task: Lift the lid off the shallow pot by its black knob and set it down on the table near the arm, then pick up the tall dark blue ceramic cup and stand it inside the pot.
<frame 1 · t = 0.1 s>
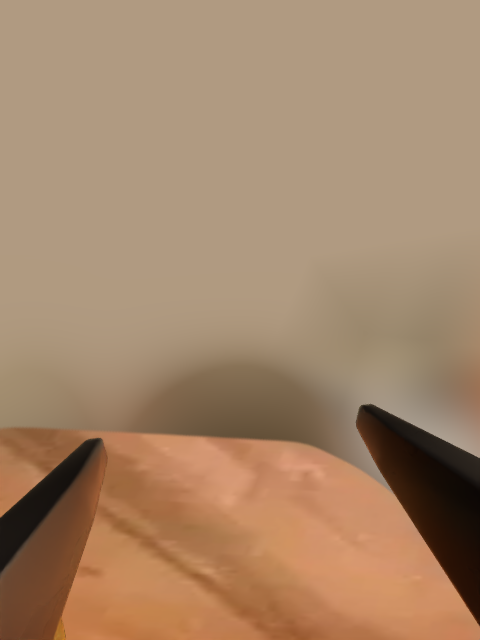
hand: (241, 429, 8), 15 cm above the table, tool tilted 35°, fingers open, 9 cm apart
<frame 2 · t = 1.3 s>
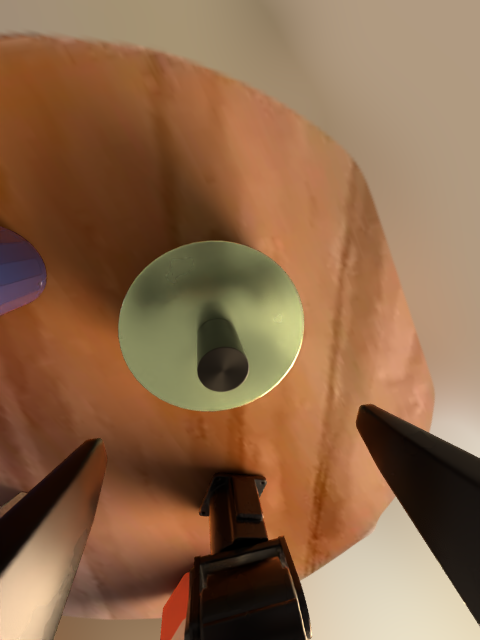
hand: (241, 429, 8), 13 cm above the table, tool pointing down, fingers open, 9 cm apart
cup: (0, 267, 17), on the table
french fries container: (208, 572, 34), on the table
lid: (216, 333, 16), point 4 cm above the table, touching pot
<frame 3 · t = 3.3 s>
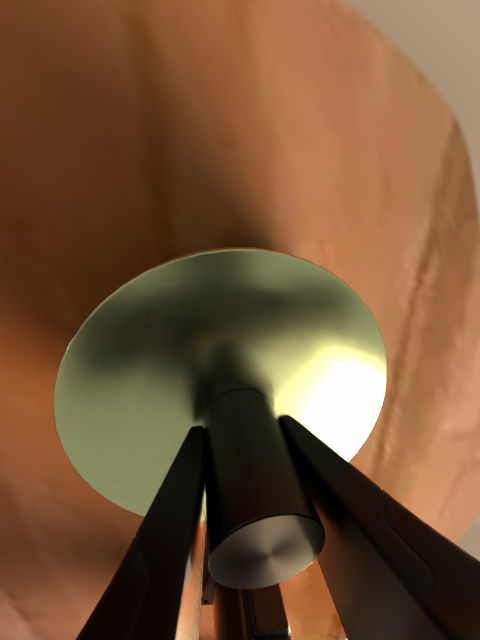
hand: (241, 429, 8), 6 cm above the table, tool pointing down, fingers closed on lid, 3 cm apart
lid: (236, 407, 9), point 4 cm above the table, touching gripper, pot
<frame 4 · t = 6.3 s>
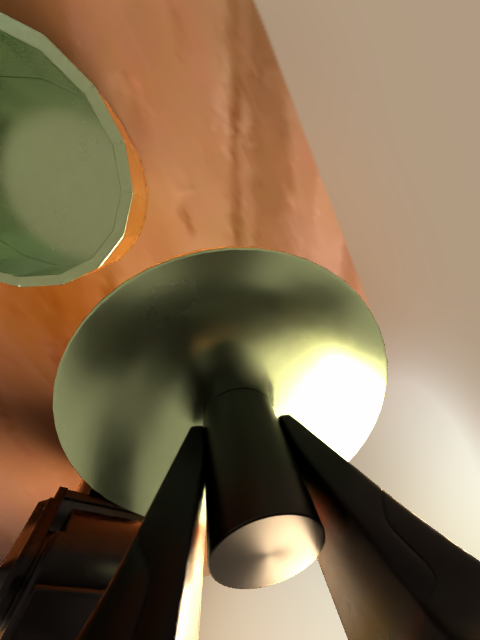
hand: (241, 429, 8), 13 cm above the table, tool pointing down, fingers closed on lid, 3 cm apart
pot: (55, 184, 15), on the table
lid: (236, 406, 9), point 12 cm above the table, touching gripper
when the fingers open (2 cm above the table, at t = 9.2 s): lid stays where it is, point 1 cm above the table.
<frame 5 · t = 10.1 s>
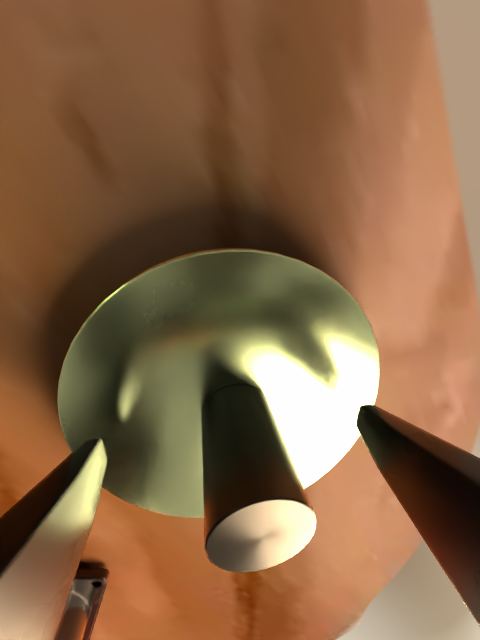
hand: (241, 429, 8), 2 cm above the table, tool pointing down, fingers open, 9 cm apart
lid: (233, 402, 10), point 1 cm above the table
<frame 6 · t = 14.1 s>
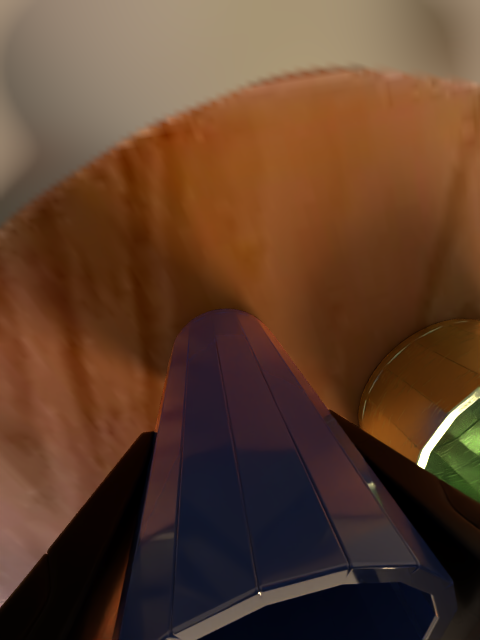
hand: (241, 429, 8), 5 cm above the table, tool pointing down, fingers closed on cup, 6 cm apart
cup: (224, 357, 13), on the table, touching gripper
pot: (432, 393, 17), on the table
when the fingers open (5 cm above the table, at t = 18.7 s): cup stays where it is, resting on pot.
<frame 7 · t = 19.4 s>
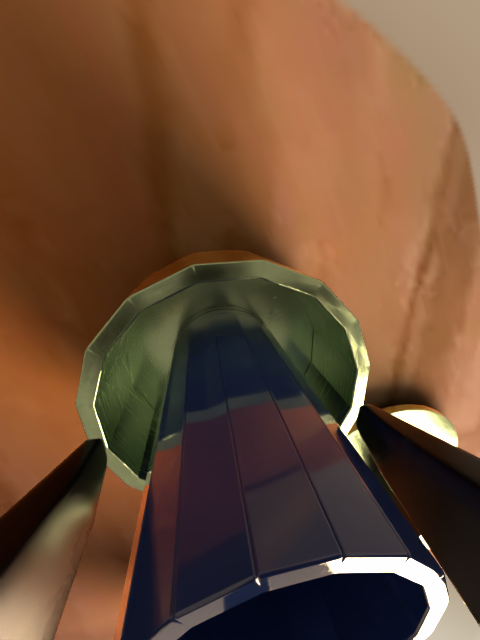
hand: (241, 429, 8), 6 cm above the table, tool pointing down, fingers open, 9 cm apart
cup: (225, 357, 13), resting on pot
pot: (224, 352, 14), on the table
lid: (381, 466, 19), point 1 cm above the table
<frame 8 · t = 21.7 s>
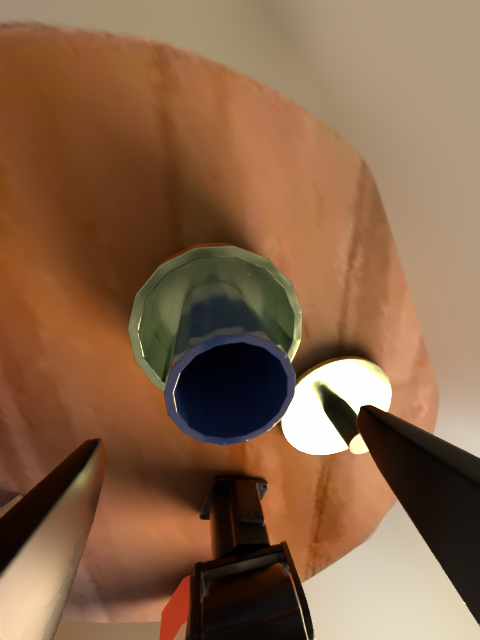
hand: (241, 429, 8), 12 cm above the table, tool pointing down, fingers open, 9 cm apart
cup: (215, 315, 19), resting on pot
pot: (215, 313, 20), on the table
french fries container: (208, 575, 33), on the table
lid: (334, 406, 25), point 1 cm above the table
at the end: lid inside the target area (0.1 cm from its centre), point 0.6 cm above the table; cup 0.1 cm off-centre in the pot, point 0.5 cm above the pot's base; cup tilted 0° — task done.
